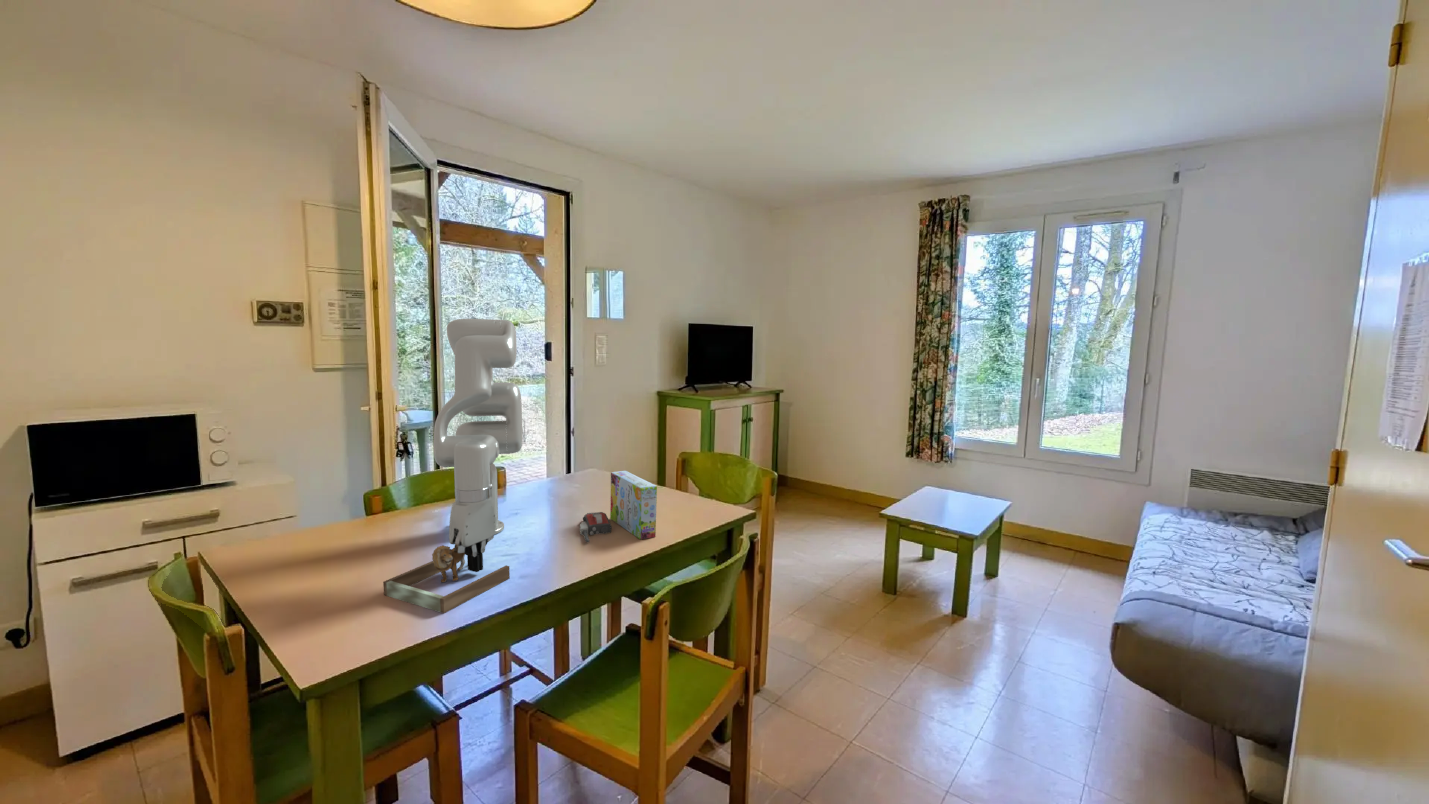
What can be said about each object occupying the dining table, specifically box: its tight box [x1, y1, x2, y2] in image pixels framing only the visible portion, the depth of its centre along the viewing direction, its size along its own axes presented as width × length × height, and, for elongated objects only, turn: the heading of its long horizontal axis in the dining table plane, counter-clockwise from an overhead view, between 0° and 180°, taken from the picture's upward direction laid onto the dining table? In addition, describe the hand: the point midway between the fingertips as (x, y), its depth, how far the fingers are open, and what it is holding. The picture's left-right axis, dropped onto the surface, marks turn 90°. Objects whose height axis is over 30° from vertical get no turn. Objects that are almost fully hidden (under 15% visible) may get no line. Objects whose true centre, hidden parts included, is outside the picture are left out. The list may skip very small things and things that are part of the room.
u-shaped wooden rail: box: [383, 560, 511, 614], centre depth 124 cm, size 18×18×3 cm
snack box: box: [609, 470, 658, 540], centre depth 163 cm, size 21×6×15 cm, turn 34°
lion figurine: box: [431, 545, 466, 583], centre depth 129 cm, size 15×5×9 cm, turn 177°
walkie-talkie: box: [579, 511, 612, 543], centre depth 160 cm, size 9×4×20 cm
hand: (475, 569), depth 130 cm, fingers closed
